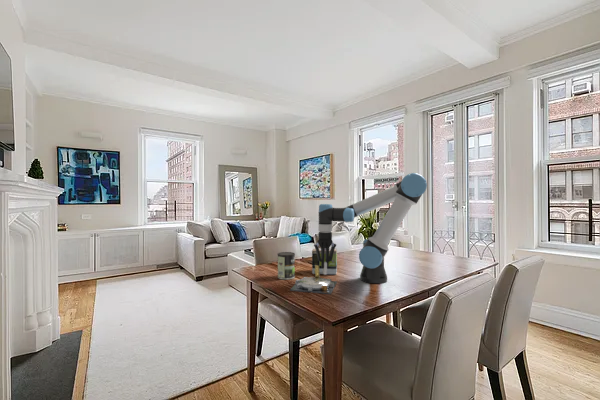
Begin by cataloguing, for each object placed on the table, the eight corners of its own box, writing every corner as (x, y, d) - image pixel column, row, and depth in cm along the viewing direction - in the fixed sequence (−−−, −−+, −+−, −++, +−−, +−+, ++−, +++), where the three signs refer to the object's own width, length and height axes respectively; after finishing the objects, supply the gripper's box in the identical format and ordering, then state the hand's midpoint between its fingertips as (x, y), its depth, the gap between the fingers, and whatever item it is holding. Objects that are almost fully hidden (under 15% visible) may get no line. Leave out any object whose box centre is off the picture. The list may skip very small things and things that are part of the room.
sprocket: (336, 281, 164) (336, 265, 164) (330, 292, 144) (330, 274, 144) (300, 278, 170) (300, 263, 169) (290, 289, 150) (290, 271, 150)
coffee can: (296, 275, 179) (296, 252, 179) (292, 280, 169) (292, 255, 168) (280, 274, 181) (280, 251, 181) (275, 279, 171) (275, 254, 170)
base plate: (336, 282, 164) (336, 281, 164) (330, 294, 144) (330, 293, 144) (300, 279, 170) (300, 278, 170) (289, 290, 150) (289, 289, 149)
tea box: (337, 271, 189) (337, 248, 189) (336, 275, 180) (336, 250, 179) (313, 270, 192) (313, 247, 192) (311, 274, 182) (311, 250, 182)
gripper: (333, 230, 170) (333, 271, 170) (312, 231, 167) (311, 272, 167) (338, 232, 163) (338, 274, 163) (316, 232, 159) (315, 276, 160)
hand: (324, 273), depth 165 cm, fingers closed
